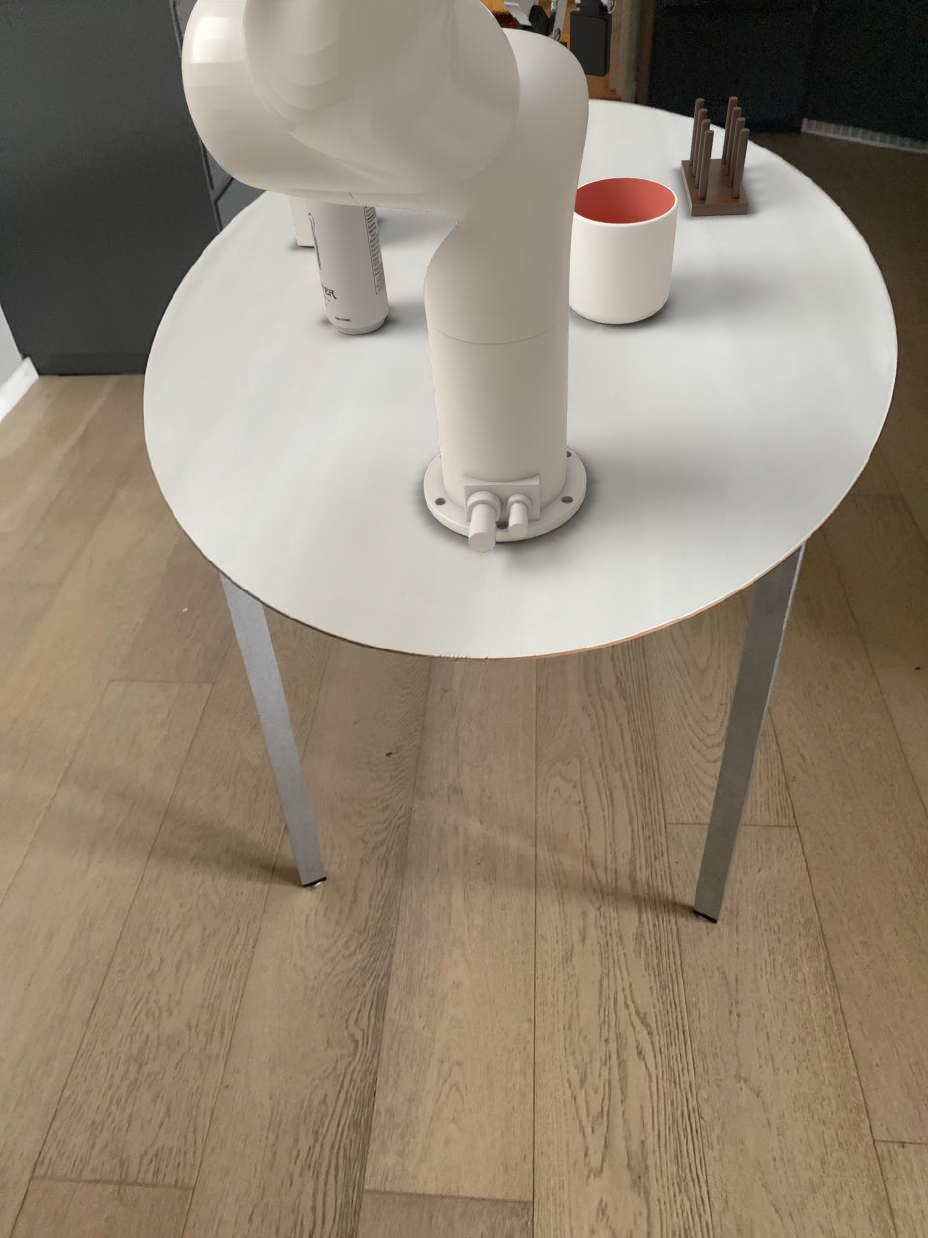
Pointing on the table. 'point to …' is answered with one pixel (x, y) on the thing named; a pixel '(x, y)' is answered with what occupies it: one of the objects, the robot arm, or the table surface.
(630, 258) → the cup
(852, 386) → the table surface
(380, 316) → the energy drink can
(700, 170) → the dish rack
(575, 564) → the table surface
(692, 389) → the table surface
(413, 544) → the table surface
